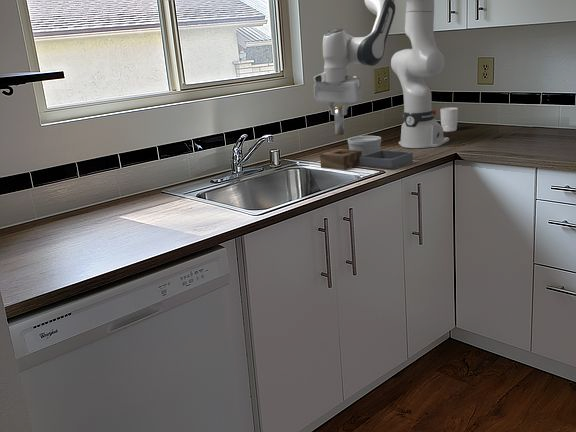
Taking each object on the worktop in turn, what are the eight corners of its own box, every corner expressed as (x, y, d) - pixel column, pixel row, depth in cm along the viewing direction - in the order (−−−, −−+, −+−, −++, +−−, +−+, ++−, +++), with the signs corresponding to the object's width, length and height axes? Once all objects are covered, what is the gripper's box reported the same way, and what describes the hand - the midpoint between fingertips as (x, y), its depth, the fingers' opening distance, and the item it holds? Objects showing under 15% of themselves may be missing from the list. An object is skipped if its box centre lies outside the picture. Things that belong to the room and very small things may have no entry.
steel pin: (339, 133, 236) (337, 106, 233) (346, 133, 234) (344, 106, 231) (333, 134, 234) (331, 107, 231) (340, 135, 231) (339, 107, 229)
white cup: (438, 132, 290) (438, 110, 287) (442, 129, 297) (441, 107, 294) (456, 131, 287) (456, 109, 284) (459, 128, 294) (459, 107, 291)
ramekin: (370, 150, 260) (369, 134, 259) (388, 155, 249) (387, 137, 247) (342, 155, 255) (341, 138, 253) (359, 160, 244) (358, 142, 242)
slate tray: (381, 158, 243) (381, 149, 242) (412, 161, 234) (412, 152, 233) (359, 166, 234) (359, 156, 233) (391, 169, 224) (391, 160, 223)
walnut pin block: (339, 161, 245) (338, 148, 243) (362, 163, 237) (361, 150, 236) (320, 167, 237) (319, 154, 236) (343, 170, 230) (343, 156, 228)
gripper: (365, 75, 223) (367, 114, 227) (320, 75, 237) (323, 112, 241) (354, 77, 219) (356, 117, 223) (309, 77, 232) (312, 115, 236)
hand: (338, 114), depth 232 cm, fingers closed on steel pin, 3 cm apart
